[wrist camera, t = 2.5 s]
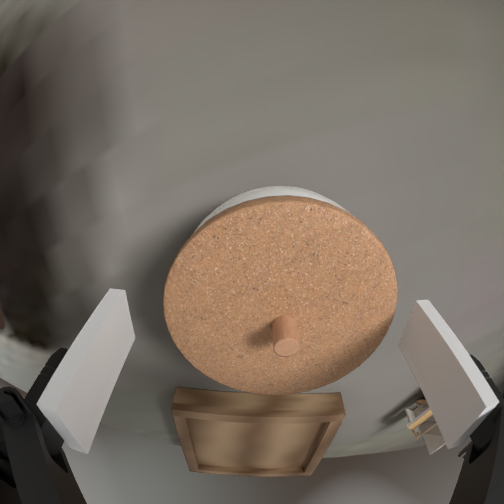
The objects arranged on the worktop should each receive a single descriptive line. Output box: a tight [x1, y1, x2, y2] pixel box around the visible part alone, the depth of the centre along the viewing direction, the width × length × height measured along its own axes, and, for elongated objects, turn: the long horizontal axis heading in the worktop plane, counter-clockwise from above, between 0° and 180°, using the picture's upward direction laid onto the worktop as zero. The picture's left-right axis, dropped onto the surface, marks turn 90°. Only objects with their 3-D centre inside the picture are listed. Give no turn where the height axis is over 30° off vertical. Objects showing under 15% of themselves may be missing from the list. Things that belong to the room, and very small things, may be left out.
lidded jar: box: [163, 186, 397, 395], centre depth 15 cm, size 11×11×9 cm
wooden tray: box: [171, 387, 346, 477], centre depth 28 cm, size 16×16×3 cm
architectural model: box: [405, 400, 446, 454], centre depth 24 cm, size 3×7×7 cm, turn 148°
